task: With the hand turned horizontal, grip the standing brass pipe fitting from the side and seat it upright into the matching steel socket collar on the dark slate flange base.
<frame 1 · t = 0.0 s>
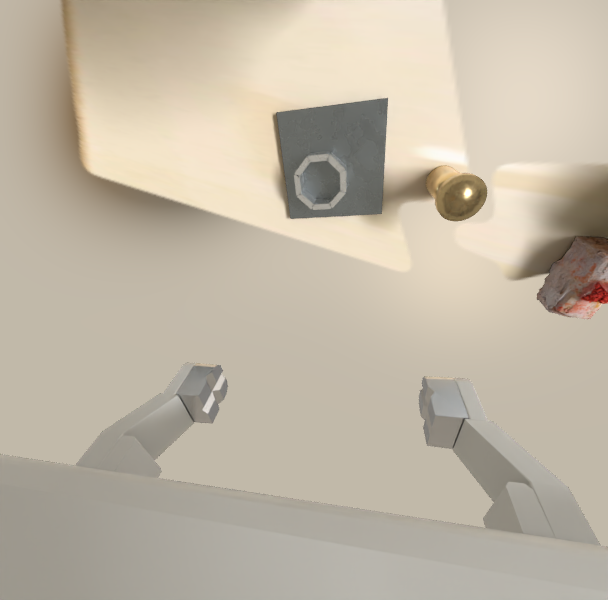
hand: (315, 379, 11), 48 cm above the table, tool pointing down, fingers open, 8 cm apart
brass fitting: (441, 180, 49), on the table
food item: (566, 267, 54), on the table
flange base: (333, 165, 50), on the table
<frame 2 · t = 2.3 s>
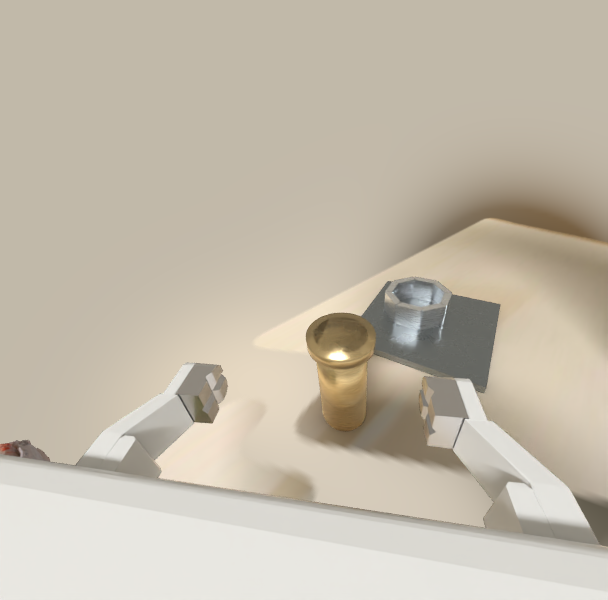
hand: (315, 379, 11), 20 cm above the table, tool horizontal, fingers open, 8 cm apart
brass fitting: (344, 410, 32), on the table
food item: (31, 549, 25), on the table
flange base: (423, 326, 42), on the table
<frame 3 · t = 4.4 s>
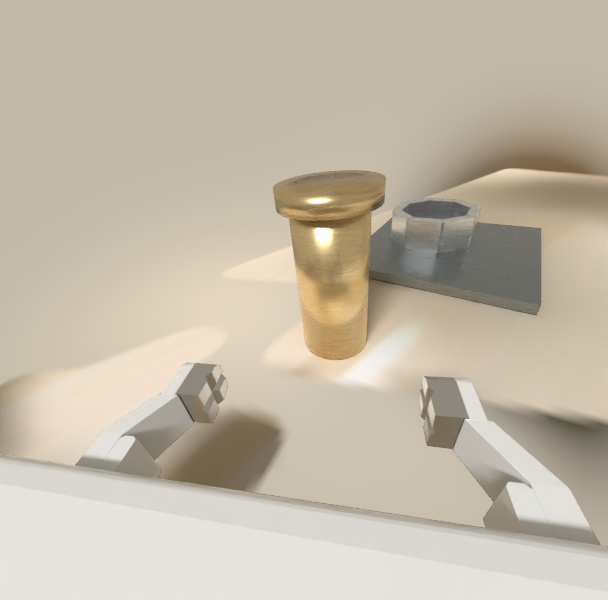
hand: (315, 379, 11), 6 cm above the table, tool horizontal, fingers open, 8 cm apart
brass fitting: (335, 337, 22), on the table
flange base: (442, 253, 33), on the table
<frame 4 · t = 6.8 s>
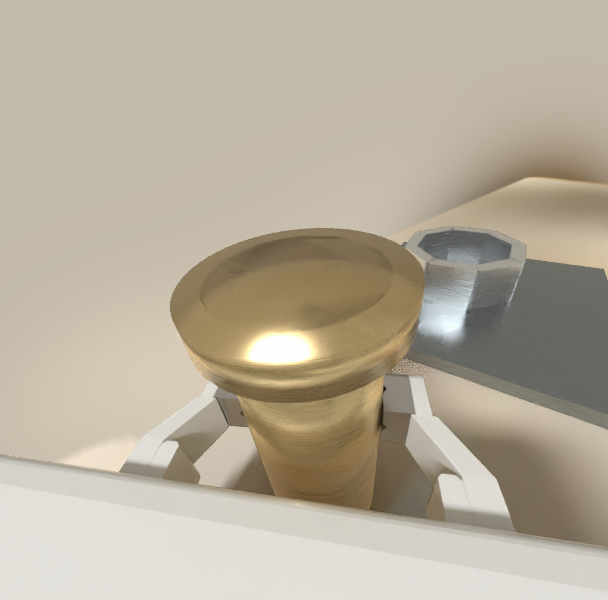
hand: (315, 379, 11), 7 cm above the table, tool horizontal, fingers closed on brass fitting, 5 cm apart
brass fitting: (323, 477, 14), on the table, touching gripper
flange base: (472, 304, 24), on the table
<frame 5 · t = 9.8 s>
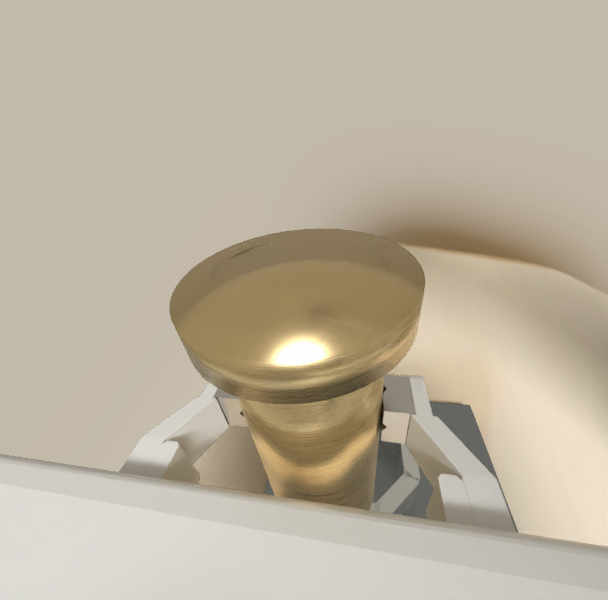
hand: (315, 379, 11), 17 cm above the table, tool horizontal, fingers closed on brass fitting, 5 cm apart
brass fitting: (323, 478, 14), point 10 cm above the table, touching gripper
flange base: (379, 505, 21), on the table
when the fingers open (9 cm above the table, at t = 12.7 s): brass fitting drops 1 cm, resting on flange base.
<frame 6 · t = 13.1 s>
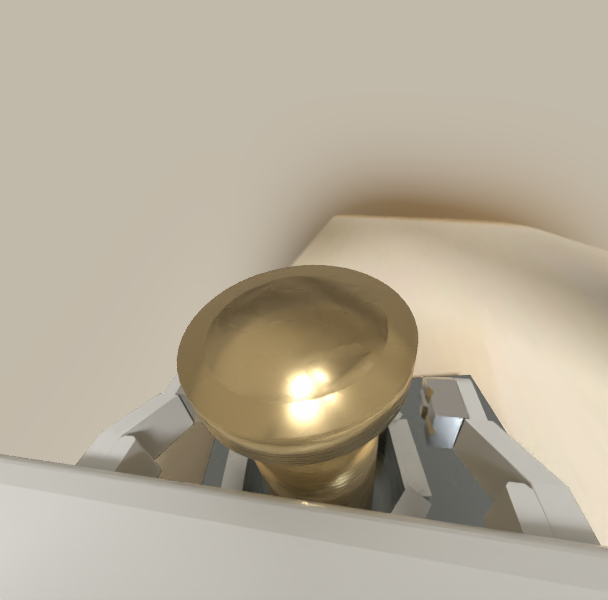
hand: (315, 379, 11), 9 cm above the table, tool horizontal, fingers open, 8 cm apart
brass fitting: (324, 489, 15), point 1 cm above the table, touching flange base
flange base: (368, 542, 14), on the table
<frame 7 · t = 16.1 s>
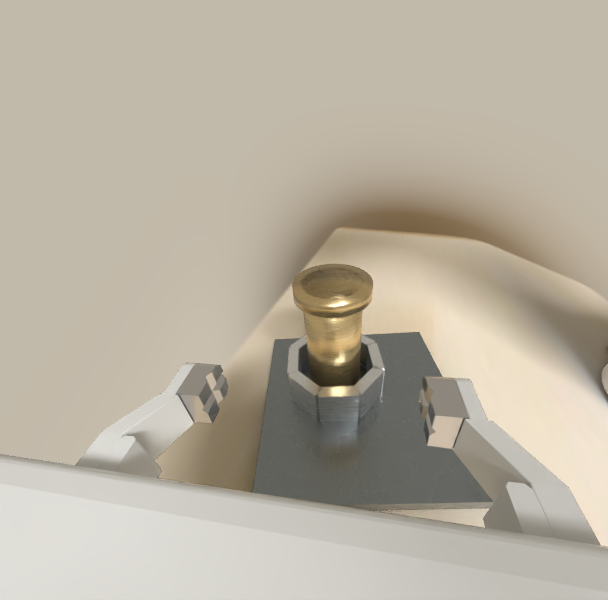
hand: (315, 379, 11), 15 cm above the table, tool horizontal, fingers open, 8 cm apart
brass fitting: (334, 381, 29), point 1 cm above the table, touching flange base
flange base: (356, 402, 27), on the table
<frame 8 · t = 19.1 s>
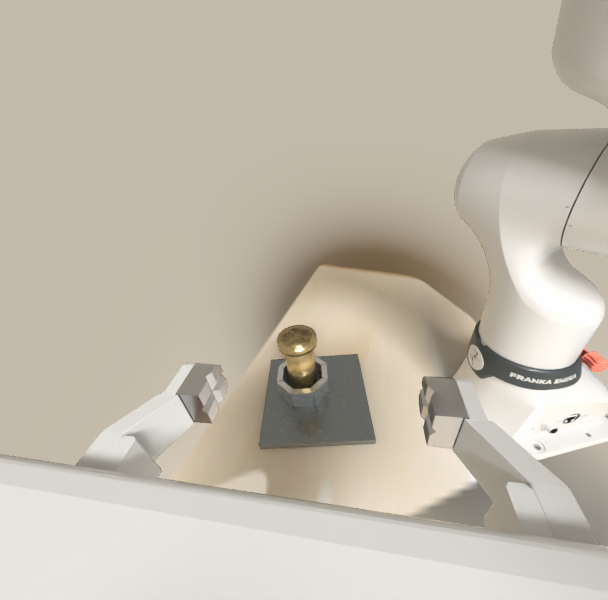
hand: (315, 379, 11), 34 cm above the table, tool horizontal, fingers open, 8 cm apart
brass fitting: (304, 385, 51), point 1 cm above the table, touching flange base
flange base: (315, 396, 50), on the table
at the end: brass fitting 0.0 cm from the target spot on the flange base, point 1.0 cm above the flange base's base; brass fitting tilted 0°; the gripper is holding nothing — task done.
